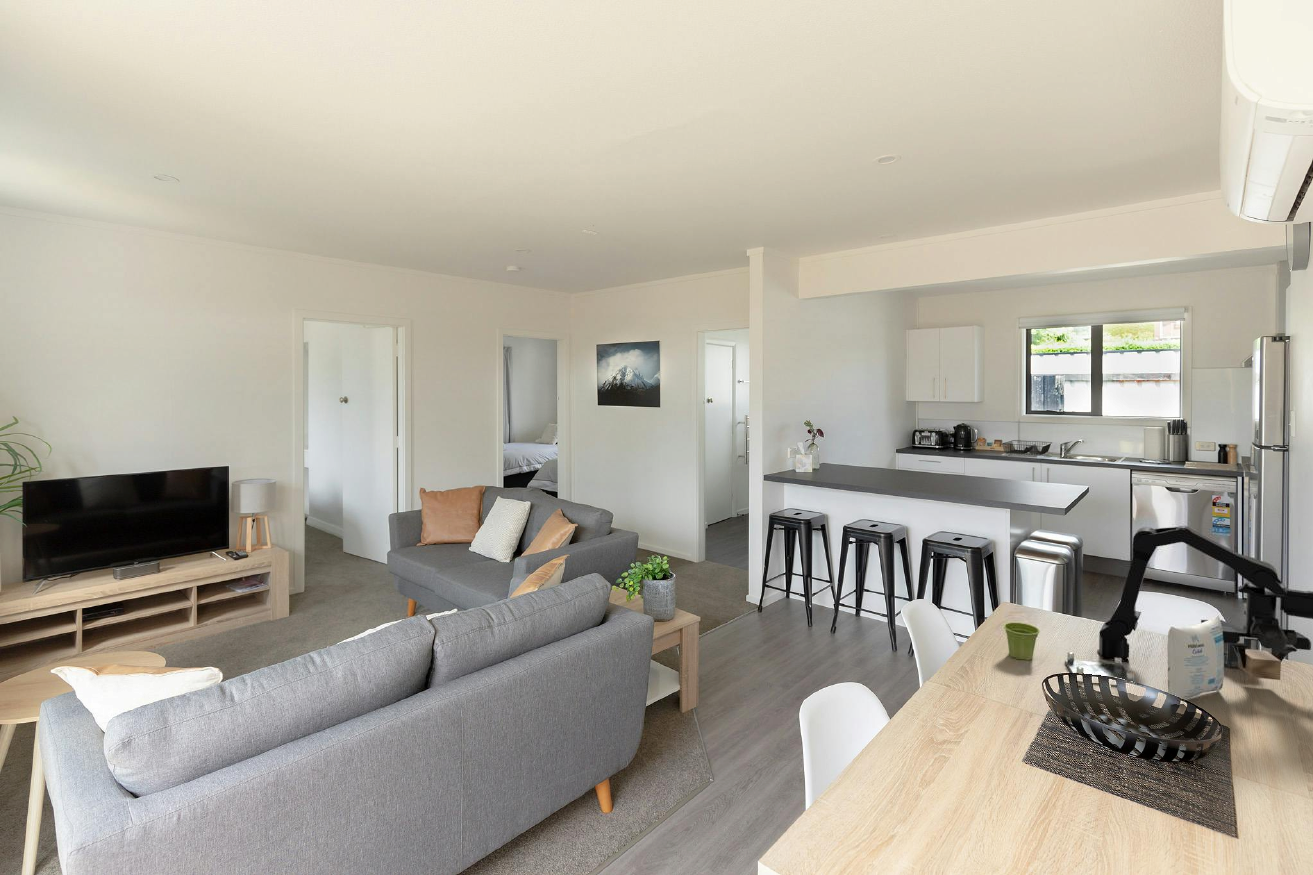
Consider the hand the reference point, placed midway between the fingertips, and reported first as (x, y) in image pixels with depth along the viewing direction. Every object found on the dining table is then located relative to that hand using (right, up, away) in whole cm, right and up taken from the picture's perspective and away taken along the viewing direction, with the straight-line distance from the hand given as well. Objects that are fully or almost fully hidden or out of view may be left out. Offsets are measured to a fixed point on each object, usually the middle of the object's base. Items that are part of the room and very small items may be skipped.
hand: (1258, 668), depth 173 cm
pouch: (-21, -6, -5) cm, 22 cm away
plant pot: (-50, -5, +23) cm, 55 cm away
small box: (+6, -4, +17) cm, 18 cm away
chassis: (-35, -5, +10) cm, 37 cm away
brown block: (0, -1, 0) cm, 1 cm away
